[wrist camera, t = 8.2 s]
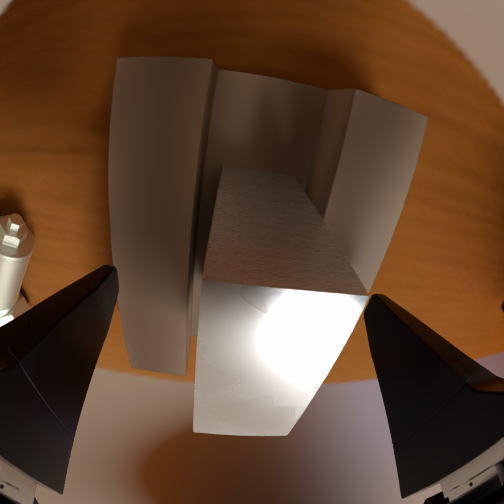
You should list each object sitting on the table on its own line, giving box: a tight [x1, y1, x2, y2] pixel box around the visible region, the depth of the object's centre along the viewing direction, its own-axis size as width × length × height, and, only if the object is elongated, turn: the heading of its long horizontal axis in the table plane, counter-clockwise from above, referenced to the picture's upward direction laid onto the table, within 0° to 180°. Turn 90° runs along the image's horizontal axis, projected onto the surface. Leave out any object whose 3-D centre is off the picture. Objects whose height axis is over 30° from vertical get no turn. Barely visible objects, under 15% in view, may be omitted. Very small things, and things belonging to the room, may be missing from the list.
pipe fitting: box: [0, 213, 35, 327], centre depth 12 cm, size 8×4×7 cm
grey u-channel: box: [108, 57, 428, 376], centre depth 12 cm, size 10×14×4 cm
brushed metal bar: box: [193, 165, 369, 436], centre depth 10 cm, size 3×6×8 cm, turn 170°
